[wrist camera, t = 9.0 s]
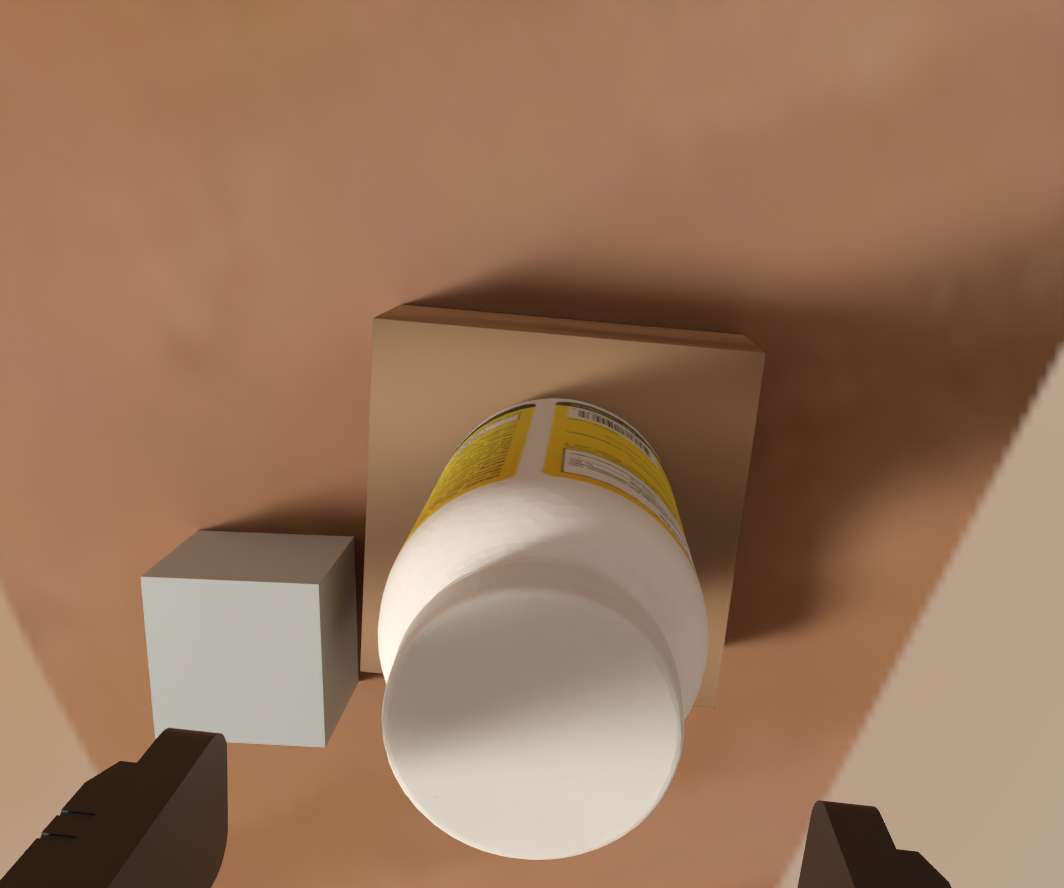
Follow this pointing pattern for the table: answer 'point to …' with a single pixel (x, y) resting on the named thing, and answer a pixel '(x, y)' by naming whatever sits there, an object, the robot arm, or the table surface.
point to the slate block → (253, 636)
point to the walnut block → (566, 373)
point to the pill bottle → (542, 636)
